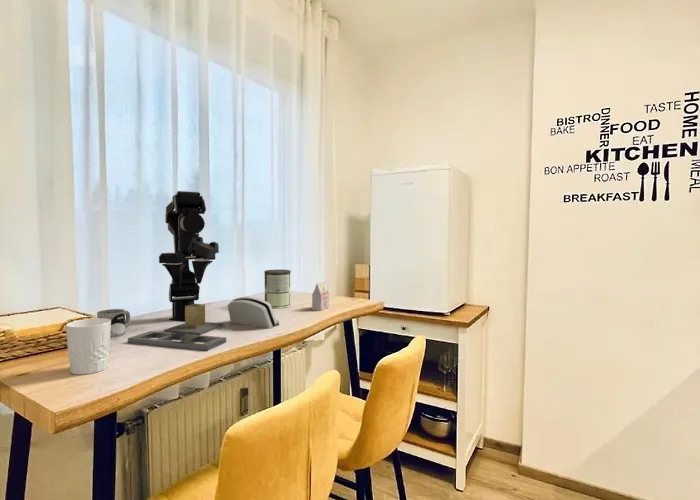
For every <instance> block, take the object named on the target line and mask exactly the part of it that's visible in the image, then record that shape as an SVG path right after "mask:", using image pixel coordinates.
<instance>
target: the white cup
mask: <svg viewBox="0 0 700 500" xmlns="http://www.w3.org/2000/svg"><path fill="white" fill-rule="evenodd" d="M65 331H66V343H67V353H68V354H67V355H68V361H69V371H70V374H73V375H78V376H79V375H91V374H95V373H99V372H102V371H105V370H107V369H108V368H109V366H110V365H109V362H110V361H109V357H110V353H111V351H110V349H111V338H112V337H111V320H110V319H103V318H97V317H96V318H88V319H87V318H86V319H79V320H74V321H70V322H68V323H66V325H65Z"/></svg>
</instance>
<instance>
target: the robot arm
mask: <svg viewBox="0 0 700 500" xmlns="http://www.w3.org/2000/svg"><path fill="white" fill-rule="evenodd" d="M165 207H166V208H165V215H164V216H165V218H164V219H165V224H167V230H168V231H169V232H170V234H172V236H173V248H174V252H161V253H160V254H159V256H158V263H159V264H162V266H163V267H164V268H165V269H166V271H167V272H168V274H169V275H170V278H171V283H169V289H168V301H169V303H171V304H172V305H171V307H172V308H171V310H172V315H171V316H172V317H169V318H168V320H170V321H179V322H180V321H182V322H185V306H187V305H190V304H195V301H199V299H200V290H201V289H200V284H201V283H202V281H203V278H204V274H205V271H206V269H207V267H208V266H209V265H210V264H211V263H213V260H216V254H219V252H220V250H219V249H220V247H219V243H218V242H216V241H211V242H210V243H207V242H204V239H203V236H200V233H201V232H202V231H203V229H205V224H206V222H205V219H204V218H203V216H202V215H204V214H205V213H206V211H207V208H206V203H205V199H204V197H203V195H201V193H200V192H199V191H186V190H185V191H184V190H177V191H176V192H175V194H174V195H173V196H172V200H171V202H169V203H168V204H167V206H165ZM190 260H191V263H192V264H191V265H192V269H193V271H192V270H191V269H190Z"/></svg>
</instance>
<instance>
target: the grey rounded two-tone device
mask: <svg viewBox="0 0 700 500" xmlns="http://www.w3.org/2000/svg"><path fill="white" fill-rule="evenodd" d="M227 310H228V315H229V320H230V323H232V324H239V325H240V324H241V325H246V326H247V325H248V326H252V327H259V328H266V329H272V328H274V326H275V325H276V326H281V324H280V321H279V319H277V318H276V315H275V313H274V309H273V308H272V307H271V304H270V303H268V302H266V301H265V299H261V298H258V297H254V296H241V297H237V298H235V299H233V300H232V301H230V302H229V303H228V304H227Z"/></svg>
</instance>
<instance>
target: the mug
mask: <svg viewBox="0 0 700 500" xmlns="http://www.w3.org/2000/svg"><path fill="white" fill-rule="evenodd" d="M130 314H131V313H130V311H128V310H125V309H122V308H111V309H103V310H99V311H97V312H96V319H97V318H103V319H110V320H111V338H117V337H120V336H121V337H122V336H123V335H125V334H126V328H127V327H129V326H130V324H131V315H130Z"/></svg>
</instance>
